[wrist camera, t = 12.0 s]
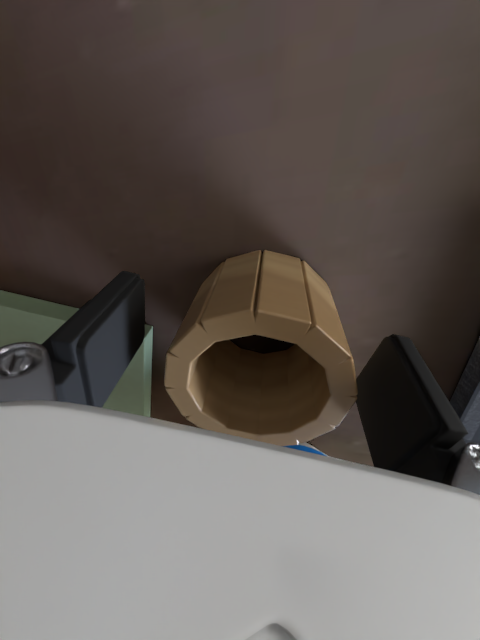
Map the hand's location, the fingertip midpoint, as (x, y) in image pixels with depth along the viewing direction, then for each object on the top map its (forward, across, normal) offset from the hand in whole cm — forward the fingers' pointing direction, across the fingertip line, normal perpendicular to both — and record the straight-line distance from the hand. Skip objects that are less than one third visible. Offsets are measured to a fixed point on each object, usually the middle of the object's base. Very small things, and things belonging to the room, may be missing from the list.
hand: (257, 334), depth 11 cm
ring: (+3, 0, +1) cm, 3 cm away
